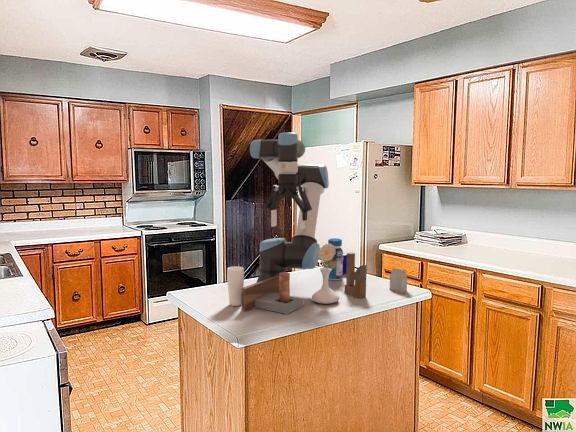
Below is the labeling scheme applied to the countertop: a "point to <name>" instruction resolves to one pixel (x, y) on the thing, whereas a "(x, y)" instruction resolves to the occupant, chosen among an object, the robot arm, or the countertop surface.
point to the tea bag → (398, 280)
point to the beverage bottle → (336, 260)
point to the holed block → (278, 303)
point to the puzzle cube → (343, 264)
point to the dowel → (284, 287)
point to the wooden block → (355, 278)
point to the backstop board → (258, 292)
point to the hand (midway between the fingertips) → (288, 227)
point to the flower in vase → (326, 276)
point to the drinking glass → (235, 284)
